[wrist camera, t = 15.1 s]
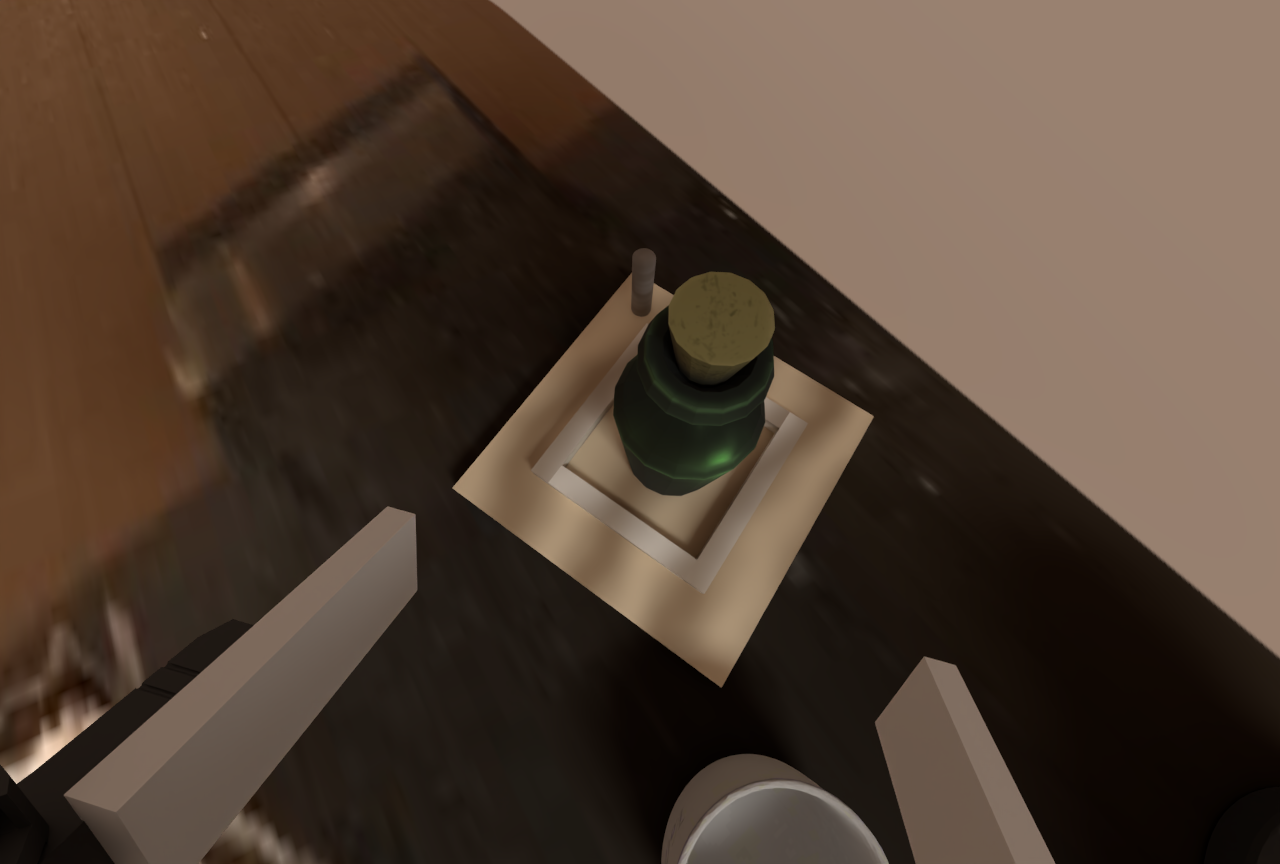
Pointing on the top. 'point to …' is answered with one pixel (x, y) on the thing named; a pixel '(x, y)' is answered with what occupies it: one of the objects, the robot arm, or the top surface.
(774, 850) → the teacup
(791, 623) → the top surface
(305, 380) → the top surface
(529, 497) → the locating board
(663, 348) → the potion bottle
